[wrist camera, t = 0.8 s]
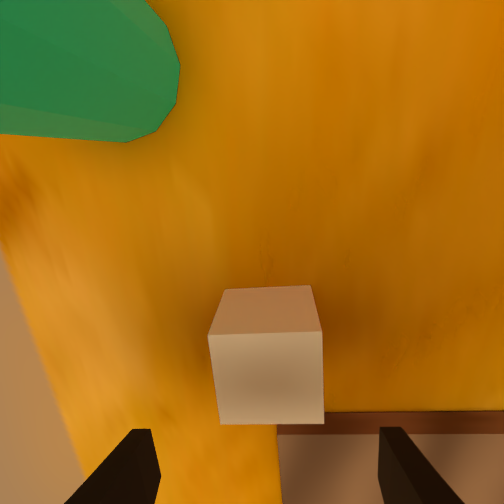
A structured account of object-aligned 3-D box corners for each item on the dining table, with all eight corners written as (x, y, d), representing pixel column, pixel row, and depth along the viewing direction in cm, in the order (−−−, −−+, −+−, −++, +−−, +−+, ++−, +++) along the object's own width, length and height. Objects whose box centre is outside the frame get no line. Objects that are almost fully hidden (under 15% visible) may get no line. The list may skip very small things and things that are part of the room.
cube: (310, 284, 16) (322, 331, 12) (312, 358, 18) (324, 423, 13) (225, 288, 17) (207, 335, 12) (233, 359, 18) (220, 424, 14)
